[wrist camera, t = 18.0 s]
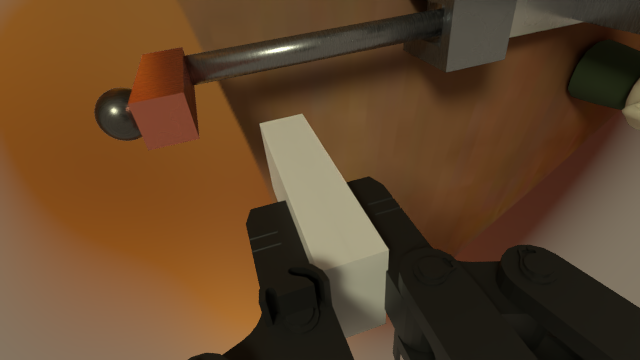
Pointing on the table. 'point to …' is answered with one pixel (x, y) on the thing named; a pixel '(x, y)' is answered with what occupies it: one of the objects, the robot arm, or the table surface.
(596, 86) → the character mug
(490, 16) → the press
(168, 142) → the lever
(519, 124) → the table surface
